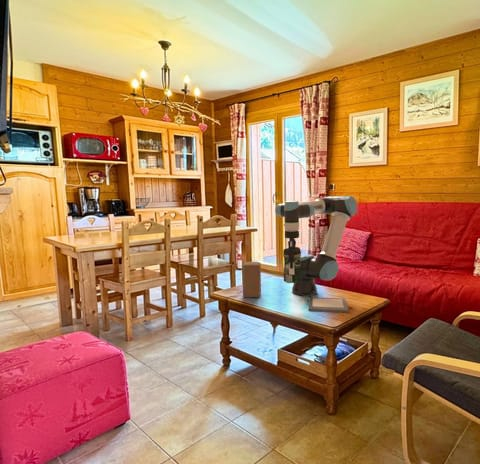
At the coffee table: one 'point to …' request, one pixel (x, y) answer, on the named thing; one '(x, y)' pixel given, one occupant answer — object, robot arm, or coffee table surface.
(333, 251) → the robot arm
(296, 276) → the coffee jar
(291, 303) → the coffee table surface
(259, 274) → the wooden block
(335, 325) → the coffee table surface
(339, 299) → the grey square frame
